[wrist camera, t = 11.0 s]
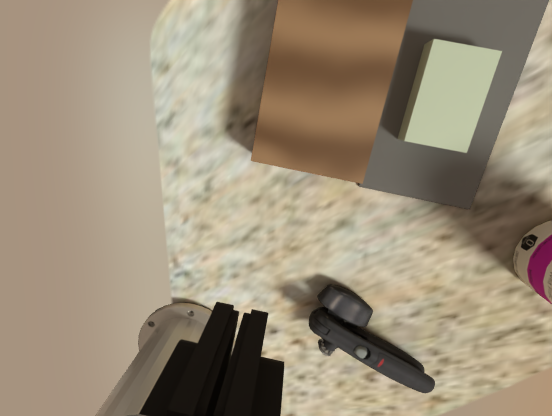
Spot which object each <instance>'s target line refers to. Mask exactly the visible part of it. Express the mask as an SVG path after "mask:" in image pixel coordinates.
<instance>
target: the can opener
mask: <svg viewBox="0 0 552 416" xmlns="http://www.w3.org/2000/svg"><path fill="white" fill-rule="evenodd" d="M317 298H318V299H319V301H320V302H321V303H322V304H323V305H324V306H325V307H327V308H325V307H320V308H317V309H315V310H314V311H313V312H312V313H311V315H310V317H309V327H310V329H311V330H312V331H313V332H314V333H315V334H317V335H318V336H320V337H321V338H322V339H320V340H319V341H318V345H319V349H320V351H321V352H322V353H323V354H324V355H326V356H330V355H331V353H333V351H335V349H336V348H340V349H342V350H343V351H345V352H346V353H348V354H349V355H351V356H352V357H354V358H356V359H357V360H359V361H361V362H362V363H364V364H366V365H367V366H369V367H371V368H373V369H374V370H376V371H378V372H380V373H382V374H383V375H385V376H387V377H389V378H391V379H393V380H395V381H397V382H399V383H401V384H403V385H405V386H407V387H409V388H412V389H414V390H416V391H419V392H422V393H429V392H431V391H432V390H433V389H434V386H435V381H434V379H433V378H431V377H430V376H428V375H427V374H425V373H424V367H423V365H422V364H421V363H419V362H418V361H417V360H415V359H414V358H412V357H411V356H409V355H408V354H406V353H405V352H403V351H401V350H400V349H398V348H396V347H394V346H393V345H391V344H389V343H387V342H385V341H383V340H381V339H379V338H377V337H375V336H374V335H372V334H370V333H368V332H366V331H365V330H363V329H361V328H360V327H358V326H362V327H365V326H367V324H368V322H369V320H370V318H371V315H372V312H373V310H372V308H371V307H370V306H369V305H368V304H367V303H366V302H365V301H364V300H362V299H361V298H360V297H359V296H357V295H356V294H354V293H353V292H351V291H349V290H347V289H345V288H342V287H339V286H336V285H332V284H329V285H328V286H327V287H326V288H325V289H324V290H323V291H322V292H321V293H320V294H319V295H318V296H317Z"/></svg>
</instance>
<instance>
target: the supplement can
mask: <svg viewBox="0 0 552 416" xmlns="http://www.w3.org/2000/svg"><path fill="white" fill-rule="evenodd" d="M513 263H514V269H515V272H516V274H517V275H518V277H519V278H520V279H521V281H522V282H524V283H525V284H526V285H528V286H529V287H530V288H531V289H533V290H534V291H535V292H537V293H538V294H539V295H540V296H542V297H543V298H544V299H546V300H547V301H548V302H549V303H551V304H552V221H548V222H545V223H543V224H540V225H538V226H536V227H534V228H533V229H532V230H530V231H529V232H528V233H527V234H525V235H524V236H523V238H522V239H521V241H520V242H519V244H518V245H517V247H516V249H515V253H514V257H513Z"/></svg>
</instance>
